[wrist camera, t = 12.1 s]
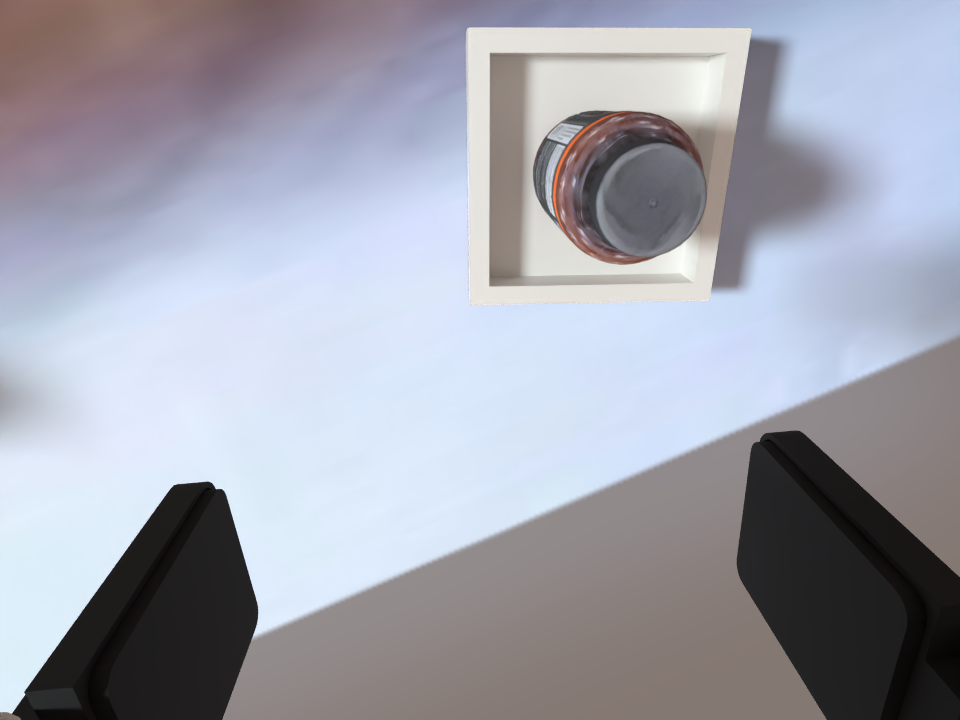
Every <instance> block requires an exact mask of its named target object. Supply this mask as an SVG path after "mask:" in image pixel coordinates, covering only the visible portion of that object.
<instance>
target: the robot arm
mask: <svg viewBox="0 0 960 720" xmlns="http://www.w3.org/2000/svg"><path fill="white" fill-rule="evenodd" d="M737 569H738V573H739V576H740V579H741V581H742V583H743V585H744V586H745V588H746V590H747V591H748V592H749V594H750V596H751V598H752V599H753V601H754V602H755V604H756V606H757V607H758V609H759V610H760V612H761V613H762V615H763V617H764V619H765V620H766V622H767V623H768V625H769V627H770V628H771V630H772V632H773V633H774V635H775V636H776V638H777V640H778V641H779V643H780V644H781V646H782V648H783V649H784V651H785V653H786V654H787V656H788V657H789V659H790V661H791V662H792V664H793V665H794V667H795V669H796V670H797V672H798V674H799V675H800V677H801V678H802V680H803V682H804V683H805V685H806V686H807V688H808V690H809V691H810V693H811V695H812V696H813V698H814V699H815V701H816V703H817V704H818V706H819V708H820V709H821V711H822V712H823V714H824V716H825V717H826V719H827V720H960V577H959V576H958V575H957V574H956V573H954V572H953V571H952V570H951V569H950V568H949V567H948V566H947V565H946V564H945V563H944V562H943V561H941V560H940V559H939V558H938V557H937V556H936V555H935V554H934V553H933V552H932V551H930V550H929V549H928V548H927V547H926V546H925V545H924V544H923V543H922V542H921V541H920V540H919V539H918V538H916V537H915V536H914V535H913V534H912V533H911V532H910V531H909V530H908V529H907V528H906V527H904V526H903V525H902V524H901V523H900V522H899V521H898V520H897V519H896V518H895V517H894V516H892V515H891V514H890V513H889V512H888V511H887V510H886V509H885V508H884V507H883V506H882V505H881V504H880V503H879V502H877V501H876V500H875V499H874V498H873V497H872V496H871V495H870V494H869V493H868V492H867V491H865V490H864V489H863V488H862V487H861V486H860V485H859V484H858V483H857V482H856V481H855V480H853V479H852V478H851V477H850V476H849V475H848V474H847V473H846V472H845V471H844V470H843V469H842V468H841V467H839V466H838V465H837V464H836V463H835V462H834V461H833V460H832V459H831V458H830V457H829V456H828V455H826V454H825V453H824V452H823V451H822V450H821V449H820V448H819V447H818V446H817V445H816V444H815V443H813V442H812V441H811V440H810V439H809V438H808V437H807V436H806V435H804V434H803V433H802V432H800V431H787V432H786V431H785V432H774V433H766V434H764V435H763V436H762V437H761V440H760V442H756V443H754V444H753V446H752V448H751V454H750V462H749V470H748V477H747V486H746V493H745V501H744V509H743V516H742V524H741V531H740V539H739V547H738V554H737ZM257 620H258V605H257V601H256V597H255V594H254V591H253V587H252V584H251V580H250V577H249V573H248V570H247V566H246V563H245V559H244V556H243V552H242V549H241V545H240V542H239V538H238V535H237V531H236V528H235V524H234V521H233V517H232V514H231V510H230V507H229V504H228V500H227V497H226V494H225V492H224V491H223V490H222V489H215V486H214V485H213V484H212V483H210V482H199V483H187V484H177V485H174V486H173V487H172V488H171V489H170V490H169V492H168V493H167V494H166V496H165V497H164V499H163V500H162V501H161V503H160V504H159V506H158V507H157V508H156V510H155V511H154V513H153V514H152V515H151V517H150V518H149V519H148V521H147V522H146V524H145V525H144V526H143V528H142V529H141V531H140V532H139V533H138V535H137V536H136V538H135V539H134V540H133V542H132V543H131V544H130V546H129V547H128V549H127V550H126V551H125V553H124V554H123V556H122V557H121V558H120V560H119V561H118V563H117V564H116V565H115V567H114V568H113V569H112V571H111V572H110V574H109V575H108V576H107V578H106V579H105V581H104V582H103V583H102V585H101V586H100V588H99V589H98V590H97V592H96V593H95V595H94V596H93V597H92V599H91V600H90V601H89V603H88V604H87V606H86V607H85V608H84V610H83V611H82V613H81V614H80V615H79V617H78V618H77V620H76V621H75V622H74V624H73V625H72V626H71V628H70V629H69V631H68V632H67V633H66V635H65V636H64V638H63V639H62V640H61V642H60V643H59V645H58V646H57V647H56V649H55V650H54V651H53V653H52V654H51V656H50V657H49V658H48V660H47V661H46V663H45V664H44V665H43V667H42V668H41V670H40V671H39V672H38V674H37V675H36V676H35V678H34V679H33V681H32V682H31V683H30V685H29V686H28V688H27V689H26V690H25V692H24V693H25V694H26V695H25V696H24V697H23V699H22V700H21V702H20V703H19V704H18V706H17V707H16V709H15V710H14V711H13V713H12V714H10V713H8V712H0V720H222V719H223V716H224V713H225V710H226V707H227V705H228V702H229V699H230V697H231V694H232V691H233V689H234V686H235V683H236V680H237V677H238V675H239V672H240V669H241V667H242V664H243V661H244V658H245V656H246V653H247V650H248V647H249V645H250V642H251V639H252V637H253V634H254V631H255V628H256V625H257Z"/></svg>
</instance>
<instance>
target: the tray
mask: <svg viewBox="0 0 960 720" xmlns="http://www.w3.org/2000/svg"><path fill="white" fill-rule="evenodd" d="M751 30H752V28H467V32H466V109H467V198H468V287H469V297H470V305H504V304H557V303H609V302H662V301H710V294H711V288H712V281H713V275H714V269H715V262H716V256H717V249H718V243H719V236H720V230H721V223H722V217H723V211H724V204H725V198H726V191H727V185H728V178H729V172H730V166H731V159H732V153H733V146H734V140H735V133H736V127H737V121H738V114H739V108H740V101H741V95H742V88H743V82H744V75H745V69H746V63H747V56H748V50H749V43H750V37H751ZM595 110H599V111H636V112H639V111H640V112H647V113H649V112H650V113H653V114H656V115H660V116H662V117H664V118H667V119H669V120H671V121H673V122H674V123H675V124H677V125H678V126H679V127H681V128H682V129H683V130H684V131H685V132H686V133H687V134H688V135H689V137H690V138H691V139H692V141H693V142H694V144H695V146H696V148H697V150H698V153H699V155H700V157H701V161H702V164H703V169H704V176H705V180H706V184H707V201H706V207H705V210H704V214H703V216H702V219H701V221H700V223H699V225H698V226H697V228H696V230H695V231H694V232H693V233H692V235H691V236H690V237H689V238H688V239H687V240H686V241H685V242H684V243H682V244H681V245H680V246H678V247H677V248H675V249H674V250H672V251H670V252H668V253H665V254H662V255H659V256H657V257H655V258H653V259H650V260H648V261H644V262H641V263H636V264H628V265H619V264H610V263H606V262H603V261H600V260H597V259H595V258H593V257H591V256H589V255H587V254H585V253H584V252H582V251H581V250H580V249H579V248H577V247H576V246H575V245H574V244H573V243H572V242H571V241H570V240H569V239H568V237H567V236H566V235H565V234H564V233H563V232H562V231H561V230H560V228H559V227H558V226H557V225H556V224H555V223H554V221H553V220H552V219H551V218H550V217H549V216H548V215H547V213H546V212H545V211H544V209H543V208H542V206H541V204H540V202H539V200H538V198H537V196H536V193H535V188H534V183H533V166H534V160H535V157H536V154H537V151H538V148H539V146H540V145H541V143H542V141H543V139H544V138H545V137H546V136H547V134H548V133H549V132H550V131H551V130H552V129H553V128H554V127H555V126H556V125H557V124H559V123H560V122H561V121H563V120H564V119H566V118H568V117H570V116H573V115H575V114H579V113H581V112H586V111H595Z"/></svg>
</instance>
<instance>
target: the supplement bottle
mask: <svg viewBox="0 0 960 720" xmlns="http://www.w3.org/2000/svg"><path fill="white" fill-rule="evenodd" d="M533 183H534V188H535V193H536V196H537V198H538V200H539V202H540V204H541V206H542V208H543V209H544V211H545V212H546V213H547V215H548V216H549V217H550V218H551V219H552V220H553V221H554V223H555V224H556V225H557V226H558V227H559V228H560V230H561V231H562V232H563V233H564V234H565V235H566V236H567V237H568V239H569V240H570V241H571V242H572V243H573V244H574V245H575V246H576V247H577V248H579V249H580V250H581V251H582V252H584V253H585V254H587V255H589V256H591V257H593V258H595V259H597V260H600V261H603V262H606V263H610V264H619V265H628V264H636V263H641V262H644V261H648V260H650V259H653V258H655V257H657V256H659V255H662V254H665V253H668V252H670V251H672V250H674V249H675V248H677V247H678V246H680V245H681V244H682V243H684V242H685V241H686V240H687V239H688V238H689V237H690V236H691V235H692V233H693V232H694V231H695V230H696V228H697V226H698V225H699V223H700V221H701V219H702V216H703V214H704V210H705V207H706V201H707V184H706V180H705V176H704V169H703V164H702V161H701V157H700V155H699V153H698V150H697V148H696V146H695V144H694V142H693V141H692V139H691V138H690V137H689V135H688V134H687V133H686V132H685V131H684V130H683V129H682V128H681V127H679V126H678V125H677V124H675V123H674V122H673V121H671V120H669V119H667V118H664V117H662V116H660V115H656V114H653V113H650V112H649V113H647V112H640V111H639V112H636V111H599V110H595V111H586V112H581V113H579V114H575V115H573V116H570V117H568V118H566V119H564V120H563V121H561V122H560V123H559V124H557V125H556V126H555V127H554V128H553V129H552V130H551V131H550V132H549V133H548V134H547V136H546V137H545V138H544V139H543V141H542V143H541V145H540V146H539V148H538V151H537V154H536V157H535V160H534V166H533Z"/></svg>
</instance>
